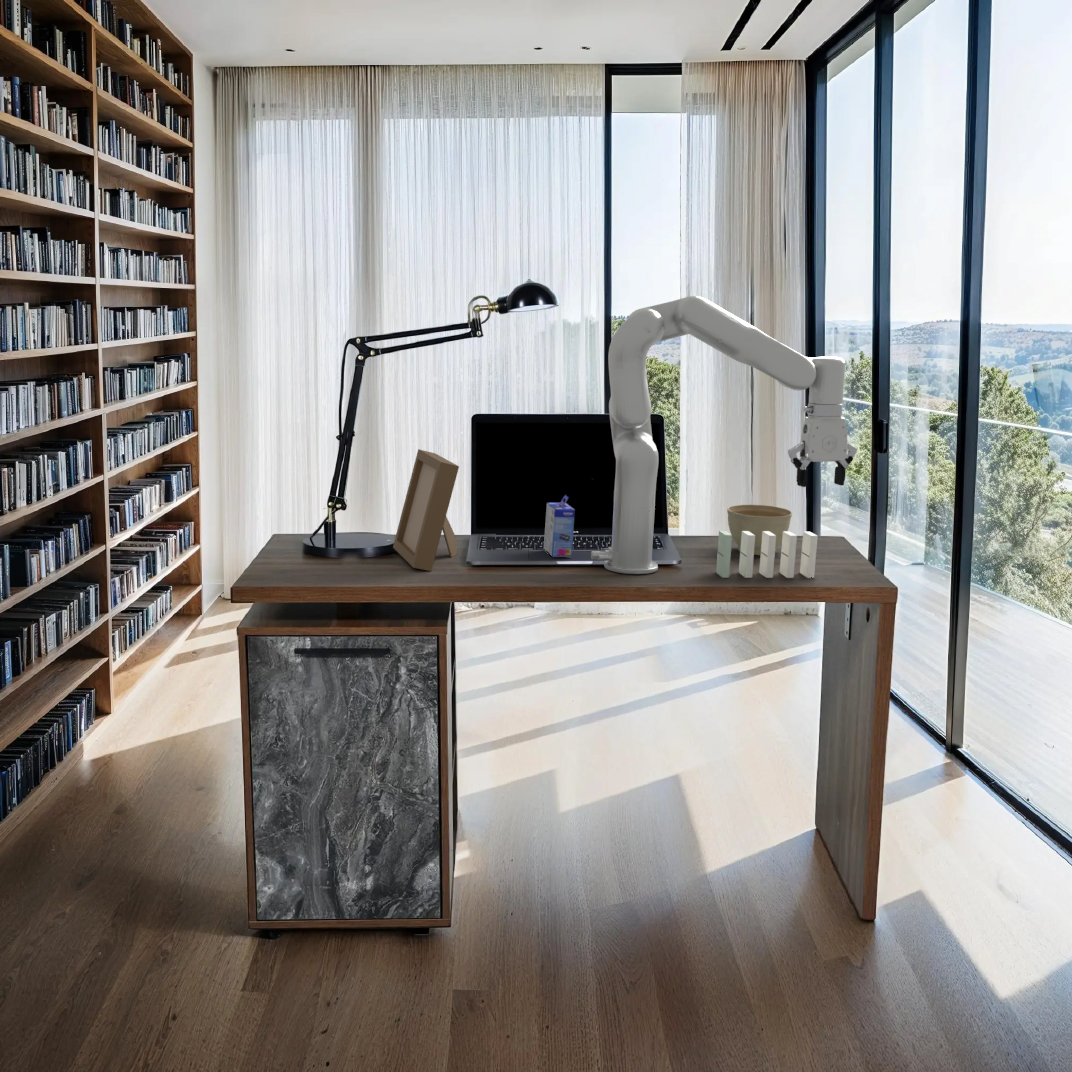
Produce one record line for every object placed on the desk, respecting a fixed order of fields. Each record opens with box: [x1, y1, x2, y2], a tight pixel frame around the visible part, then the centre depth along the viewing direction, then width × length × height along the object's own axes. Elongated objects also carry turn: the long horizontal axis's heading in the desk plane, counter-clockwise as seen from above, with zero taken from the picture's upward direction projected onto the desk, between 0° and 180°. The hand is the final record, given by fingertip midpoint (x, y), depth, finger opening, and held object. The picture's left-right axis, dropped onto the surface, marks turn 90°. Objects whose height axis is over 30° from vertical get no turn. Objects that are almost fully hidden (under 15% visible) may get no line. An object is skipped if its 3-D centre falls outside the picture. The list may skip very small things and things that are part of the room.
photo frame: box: [392, 448, 460, 572], centre depth 267 cm, size 15×22×25 cm
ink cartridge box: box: [543, 494, 576, 556], centre depth 279 cm, size 10×6×14 cm, turn 11°
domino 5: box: [799, 530, 819, 579], centre depth 266 cm, size 2×5×10 cm, turn 8°
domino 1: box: [715, 530, 733, 579], centre depth 264 cm, size 2×5×10 cm, turn 8°
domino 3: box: [758, 531, 776, 579], centre depth 265 cm, size 2×5×10 cm, turn 8°
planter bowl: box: [727, 504, 793, 556], centre depth 290 cm, size 16×16×11 cm
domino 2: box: [738, 531, 755, 579], centre depth 264 cm, size 2×5×10 cm, turn 8°
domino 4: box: [779, 530, 798, 579], centre depth 266 cm, size 2×5×10 cm, turn 8°
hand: (820, 485), depth 263 cm, fingers open, 9 cm apart
